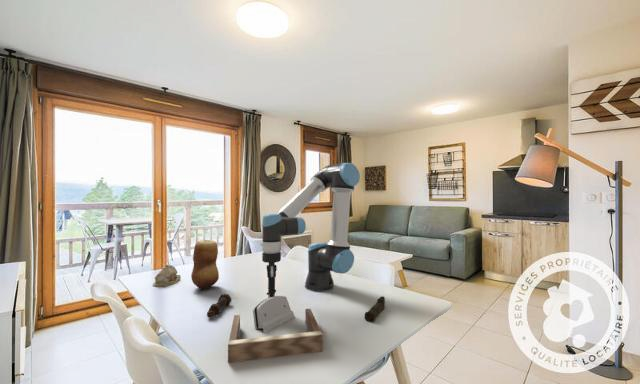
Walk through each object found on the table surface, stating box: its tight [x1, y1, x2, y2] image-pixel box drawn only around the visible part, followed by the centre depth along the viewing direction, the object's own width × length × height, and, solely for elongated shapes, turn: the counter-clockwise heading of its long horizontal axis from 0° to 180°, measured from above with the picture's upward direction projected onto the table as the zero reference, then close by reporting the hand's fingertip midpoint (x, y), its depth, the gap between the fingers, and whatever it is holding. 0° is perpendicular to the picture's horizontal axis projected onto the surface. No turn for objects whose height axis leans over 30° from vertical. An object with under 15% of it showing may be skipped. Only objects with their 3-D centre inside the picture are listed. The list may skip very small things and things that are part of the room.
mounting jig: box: [227, 308, 324, 364], centre depth 95 cm, size 28×21×5 cm
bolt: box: [206, 293, 232, 319], centre depth 118 cm, size 6×5×15 cm
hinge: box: [252, 295, 295, 333], centre depth 109 cm, size 17×5×10 cm, turn 144°
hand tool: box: [364, 296, 386, 323], centre depth 115 cm, size 19×4×5 cm, turn 148°
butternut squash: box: [190, 239, 220, 291], centre depth 148 cm, size 14×13×25 cm
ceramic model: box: [152, 264, 181, 287], centre depth 158 cm, size 14×11×10 cm
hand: (271, 309), depth 116 cm, fingers closed
